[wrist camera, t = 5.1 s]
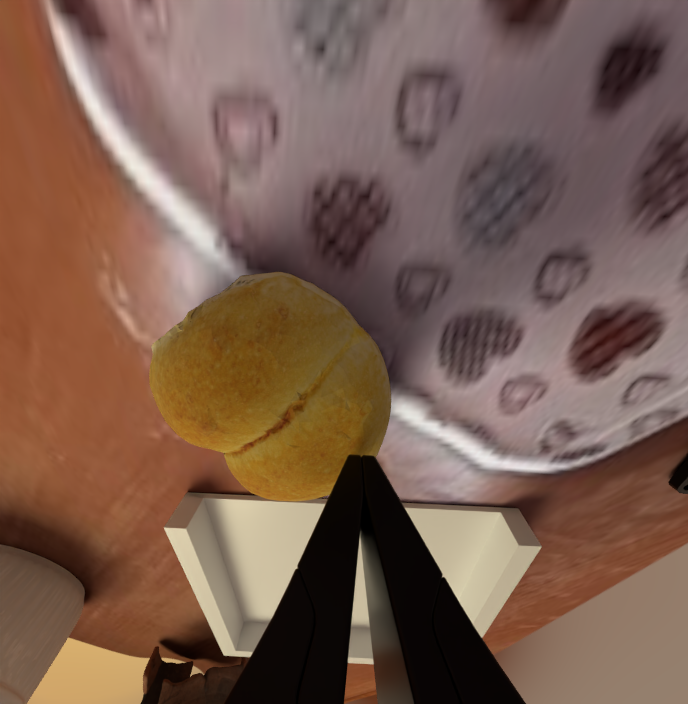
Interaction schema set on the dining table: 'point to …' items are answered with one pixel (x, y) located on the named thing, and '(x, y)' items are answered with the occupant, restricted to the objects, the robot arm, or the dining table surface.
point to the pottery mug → (187, 682)
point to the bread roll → (274, 385)
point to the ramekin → (33, 619)
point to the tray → (296, 529)
